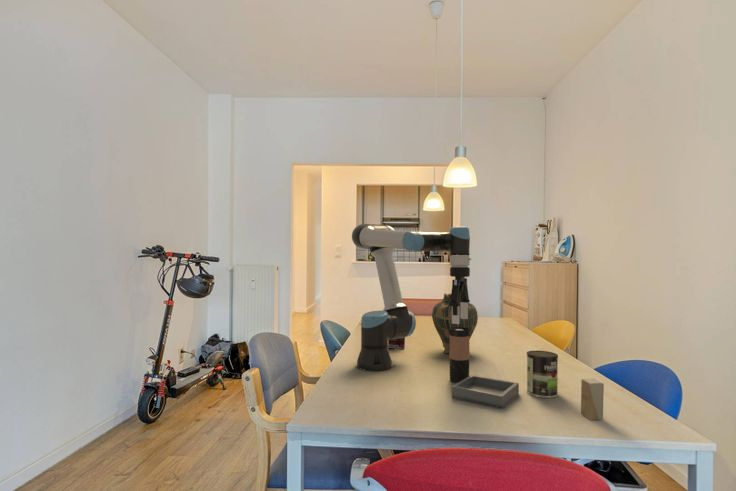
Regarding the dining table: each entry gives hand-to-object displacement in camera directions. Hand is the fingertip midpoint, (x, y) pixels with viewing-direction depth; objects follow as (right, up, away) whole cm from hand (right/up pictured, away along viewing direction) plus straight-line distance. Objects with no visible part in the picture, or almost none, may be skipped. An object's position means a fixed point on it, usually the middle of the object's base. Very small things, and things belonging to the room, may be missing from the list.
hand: (460, 321), depth 170 cm
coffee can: (+26, -23, -15) cm, 38 cm away
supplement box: (-21, -24, +55) cm, 64 cm away
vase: (+7, -24, +46) cm, 53 cm away
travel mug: (0, -23, 0) cm, 23 cm away
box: (+32, -23, -37) cm, 54 cm away
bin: (+5, -23, -19) cm, 30 cm away
